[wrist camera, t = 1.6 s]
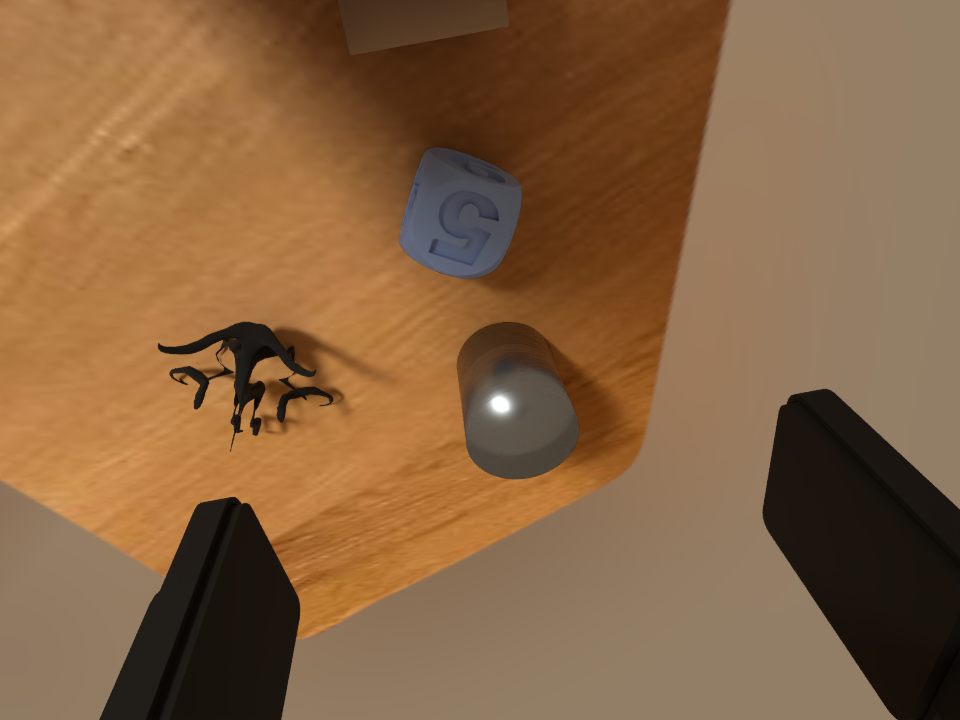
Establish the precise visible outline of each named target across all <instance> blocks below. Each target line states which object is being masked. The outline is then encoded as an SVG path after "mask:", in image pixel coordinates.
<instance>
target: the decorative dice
mask: <svg viewBox="0 0 960 720" xmlns="http://www.w3.org/2000/svg"><path fill="white" fill-rule="evenodd" d="M521 202H522V189H521V186H520V183H519V181H518V180H517V179H516V178H515V177H513V176H512V175H510V174H509V173H507V172H506V171H504V170H502V169H500V168H499V167H497V166H495V165H493V164H491V163H488V162H486V161H484V160H481V159H479V158H476V157H474V156H471V155H468V154H465V153H462V152H459V151H456V150H452V149H447V148H441V147H433V148H431V149H429V150H427V151H425V153H424V155H423V157H422V159H421V162H420V164H419V167H418V170H417V173H416V176H415V179H414V182H413V185H412V189H411V192H410V195H409V199H408V202H407V206H406V210H405V214H404V218H403V222H402V226H401V231H400V237H399V243H400V245H401V247H402V249H403V250H404V251H405V253H406V254H407V255H408V256H410V257H411V258H412V259H414V260H415V261H417V262H418V263H420V264H422V265H423V266H425V267H427V268H430V269H432V270H434V271H437V272H439V273H442V274H445V275H449V276H453V277H457V278H465V279H475V278H479V277H482V276H484V275H487V274H489V273H490V272H492V271H494V270H495V269H496V268H497V267H498V266H499V264H500V263H501V261H502V259H503V258H504V256H505V254H506V252H507V250H508V247H509V245H510V243H511V240H512V237H513V234H514V232H515V228H516V225H517V222H518V218H519V213H520V208H521Z"/></svg>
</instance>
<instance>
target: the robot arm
mask: <svg viewBox="0 0 960 720" xmlns="http://www.w3.org/2000/svg"><path fill="white" fill-rule="evenodd" d="M763 519H764V523H765V526H766V528H767V530H768V531H769V533H770V535H771V536H772V538H773V539H774V540H775V542H776V544H777V545H778V547H779V548H780V550H781V551H782V553H783V554H784V556H785V557H786V559H787V560H788V562H789V563H790V565H791V566H792V568H793V569H794V571H795V572H796V573H797V575H798V576H799V578H800V579H801V581H802V582H803V584H804V585H805V587H806V588H807V590H808V591H809V593H810V594H811V596H812V597H813V599H814V600H815V602H816V603H817V605H818V606H819V608H820V609H821V611H822V612H823V614H824V615H825V617H826V618H827V620H828V621H829V623H830V624H831V626H832V627H833V629H834V630H835V631H836V633H837V635H838V636H839V638H840V639H841V641H842V642H843V644H844V645H845V646H846V648H847V650H848V651H849V652H850V654H851V656H852V657H853V658H854V660H855V662H856V663H857V665H858V666H859V668H860V669H861V671H862V672H863V673H864V675H865V677H866V678H867V680H868V681H869V682H870V684H871V685H872V687H873V688H874V690H875V691H876V693H877V694H878V696H879V697H880V699H881V700H882V702H883V703H884V705H885V706H886V708H887V709H888V710H889V712H890V713H891V714H892V715H893V716H894V717H895V718H896V719H897V720H960V509H959V508H958V507H957V506H955V505H954V504H953V503H952V502H951V501H950V500H949V499H948V498H947V497H946V496H945V495H944V494H942V492H940V491H939V490H938V489H937V488H936V487H935V486H934V485H933V484H932V483H931V482H930V481H929V480H927V478H925V477H924V476H923V475H922V474H921V473H920V472H919V471H918V470H917V469H916V468H915V467H914V466H913V465H911V464H910V463H909V462H908V461H907V460H906V459H905V458H904V457H903V456H902V455H901V454H900V453H899V452H897V451H896V450H895V449H894V448H893V447H892V446H891V445H890V444H889V443H888V442H887V441H885V440H884V439H883V438H882V437H881V436H880V435H879V434H878V433H877V432H876V431H875V430H874V429H873V428H872V427H871V426H870V425H868V424H867V423H866V422H865V421H864V420H863V419H862V418H861V417H860V416H859V415H858V414H856V413H855V412H854V411H853V410H852V409H851V408H850V407H849V406H848V405H847V404H846V403H845V402H844V401H842V399H840V398H839V397H838V396H837V395H836V394H835V393H834V392H832V391H831V390H828V389H821V390H816V391H810V392H804V393H799V394H795V395H791V396H790V397H789V399H788V402H787V404H786V405H782V406H781V407H780V410H779V414H778V419H777V426H776V432H775V438H774V444H773V450H772V456H771V462H770V468H769V475H768V480H767V486H766V493H765V499H764V505H763ZM299 619H300V603H299V598H298V596H297V594H296V592H295V590H294V588H293V586H292V584H291V582H290V580H289V578H288V576H287V574H286V572H285V571H284V569H283V567H282V565H281V563H280V561H279V559H278V557H277V555H276V553H275V551H274V549H273V548H272V546H271V544H270V542H269V540H268V538H267V536H266V534H265V532H264V530H263V528H262V526H261V525H260V523H259V521H258V519H257V517H256V515H255V513H254V511H253V509H252V507H251V506H250V505H249V504H248V503H243V504H241V502H240V501H239V500H238V499H237V498H236V497H229V498H224V499H218V500H213V501H207V502H202V503H200V504H198V505H197V507H196V508H195V510H194V512H193V515H192V517H191V519H190V522H189V524H188V526H187V529H186V531H185V533H184V536H183V538H182V540H181V543H180V545H179V547H178V550H177V552H176V554H175V557H174V559H173V561H172V564H171V566H170V568H169V571H168V573H167V575H166V578H165V580H164V582H163V585H162V587H161V589H160V591H159V592H158V593H157V594H156V595H155V596H154V598H153V600H152V601H151V603H150V605H149V607H148V609H147V611H146V614H145V616H144V619H143V621H142V623H141V625H140V628H139V630H138V632H137V634H136V637H135V639H134V641H133V644H132V646H131V648H130V651H129V653H128V655H127V658H126V660H125V662H124V664H123V667H122V669H121V671H120V674H119V676H118V678H117V680H116V683H115V685H114V688H113V690H112V692H111V694H110V697H109V699H108V701H107V703H106V706H105V708H104V710H103V713H102V715H101V717H100V720H281V717H282V712H283V707H284V701H285V696H286V690H287V685H288V679H289V674H290V668H291V663H292V658H293V651H294V647H295V641H296V636H297V630H298V625H299Z"/></svg>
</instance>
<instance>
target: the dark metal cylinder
mask: <svg viewBox="0 0 960 720" xmlns="http://www.w3.org/2000/svg"><path fill="white" fill-rule="evenodd" d="M457 372H458V380H459V388H460V396H461V405H462V413H463V421H464V429H465V437H466V445H467V450H468V453H469V455H470V457H471V459H472V460H473V461H474V463H475V464H476V465H477V466H478V467H480V468H481V469H482V470H484V471H485V472H487V473H489V474H491V475H494V476H497V477H500V478H506V479H526V478H531V477H536V476H539V475H542V474H544V473H546V472H549V471H550V470H552V469H554V468H555V467H557V466H558V465H560V464H561V463H562V462H563V461H564V460H565V459H566V458H567V457H568V456H569V455H570V453H571V452H572V451H573V449H574V447H575V445H576V443H577V440H578V435H579V424H578V419H577V417H576V414H575V411H574V409H573V406H572V404H571V401H570V399H569V396H568V394H567V391H566V389H565V386H564V383H563V381H562V378H561V376H560V373H559V371H558V368H557V366H556V363H555V361H554V358H553V356H552V353H551V351H550V348H549V345H548V344H547V342H546V340H545V339H544V337H543V336H542V335H541V334H540V333H539V332H537V331H536V330H535V329H533V328H531V327H529V326H527V325H524V324H520V323H515V322H501V323H496V324H491V325H489V326H486V327H484V328H482V329H480V330H478V331H477V332H475V333H474V334H473V335H472V336H471V337H470V338H469V339H468V340H467V341H466V342H465V343H464V345H463V346H462V348H461V350H460V352H459V355H458V360H457Z"/></svg>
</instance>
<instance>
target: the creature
mask: <svg viewBox="0 0 960 720" xmlns="http://www.w3.org/2000/svg"><path fill="white" fill-rule="evenodd" d="M229 338H237V339H235V340H233V341H230V342H229ZM221 340H223V343H222V346H221V348H220V350H218V351H217V352H216V357H217V354H218V353H219V352H220V351H221V350H222V349H223V348H224V346H228V347H229V349H230V350H231V351H232V352H233V353H234V357H235V365H236V373H235V378H236V381H234V388H235V398H234V405H235V409H234V413H233V417H232V419H231V424H232V425H234V435H233V440H234V436H235V433H240V432H243V430H240V424H241V417H240V416H241V414H242V411H243V409H244V407H245V405H246V404H247V403H248V402H249V401H251V400H253V399H255V400H254V411H253V416H252V419H251V422H250V427H251V428H253V435H255V436H256V435H258V432H259V429H260V426H261V420H262V419H260V418H258V417H257V418H255V419H254V415H255V411H256V409H257V408H258V406H259V403H260V401H261V399H262V397H263V394H264V392H265V390H266V388H265V385H264V383H263V382H262V381H258V382H256V383H254V384H251V383H249V380H250V377H251V374H252V370H253V369H254V367H255V365H256V364H257V362H259V361H261V360H263V359H265V358H270V357H274V356H279V357H280V358H281V360H282V361H283V363H284V364H285V365H286V366H287V367H288V368H289V369H290V370H292V371H294V373H297V374H300V375H303V376H307V377H312V376H314V375H315V373H316V369H315V371H312V372H311V371H308V370H306V369H304V368H302V367H300V366H299V365H298V364H296V363H295V360H294V356H295V352H294V347H290V348H288V350H287V351H286V350H285V348H284V347H283V345H282V344H281V343H280V342H279V340H278V339H277V338H276V336H275V335H274V333H273V332H272V331H271V329H270V328H268V327H267V326H266V325H263V324H256V323H252V322H240V323H236V324H234V325H232V326H230V327H228V328H225V329H223V330H220V331H217V332H214V333H211V334H209V335H207V336H205V337H204V338H202V339H200V340H198V341H196V342H193V343H190V344H187V345H184V346H177V347H165V346H162V345H160V344H159V343H158V349H159V350H160V351H161V352H164V353H168V354H192V353H196V352H199V351H201V350H204V349H205V348H207V347H209V346H211V345H212V344H214V343H216V342H219V341H221ZM290 353H291V357H292V358H291V357H290ZM217 360H218V361H219V359H218V357H217ZM219 363H220V362H219ZM220 364H221V363H220ZM221 365H222V364H221ZM222 366H223V365H222ZM223 367H224V366H223ZM174 373H185V374H188V375H189V376H190V377H191V378H192V379H194V380H195V381H197V382H198V383H199V384H200V387H199V389H198V391H197V393H196V395H195V400H194V409H198V408H199V407H200V406H201V404H202V402H203V399H204V397H205V392H206V390H207V388H208V385H209V381H208V380H210V379H212V378H214V377H218V376H222V375H226V374H230V373H234V372H233V371H230V370H228V369H227V368H225V367H224V372H222V373H220V374H218V375H215V376H212V377H209V378H207V377H206V376H205V375H204V374H203V373H202V372H200V371H198V370H197V369H195V368H193V367H191V366H187V367H181V368H175V369H173V370H171V371H170V373H169V374H170V376H171V378H173V379H174V380H176V381H178V380H177V379H175V378H174V377H173V374H174ZM294 373H293V374H294ZM291 376H292V375H291ZM289 377H290V376H289ZM289 377H287V378H284V379H279V380H280V381H281V382H283V383H284V384H286V385H287V386H289V387H291V388H292V389H294V390H292V391H289V392H288V393H286V394H283V395H282V396H281V398H280V401H279V405H278V407H277V410H278V411H277V418H278V420H279V422H283V420H284V418H285V412H286V405H287V403H288V401H289V400H290V399H295V398H299V397H303V398H304V399H305V400H306V399H307V398H306V397H305V396H306V395H309V394H311V395H321V396H324V397H327V398H329V401H330V403H328V404H326V405H329V404H331V403H332V402H333V397H332V396H331V395H329V394H328V393H326V392H324V391H322V390H320V389H318V388H316V387H303V388H298V389H295V388H294V387H292V386H291V385H290V384H289V383H288V382H287V381H288V378H289ZM178 382H180V383H182V384H185V385H189V384H186V383H183V382H181V381H178ZM307 401H308V400H307ZM238 403H239V411H238V414H237V415H235V411H236V408H237V405H238ZM326 405H320V406H326ZM241 407H242V408H241ZM240 411H241V413H240ZM239 415H240V416H239ZM233 440H232V444H233ZM232 444H231V448H232ZM230 452H231V449H230Z"/></svg>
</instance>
